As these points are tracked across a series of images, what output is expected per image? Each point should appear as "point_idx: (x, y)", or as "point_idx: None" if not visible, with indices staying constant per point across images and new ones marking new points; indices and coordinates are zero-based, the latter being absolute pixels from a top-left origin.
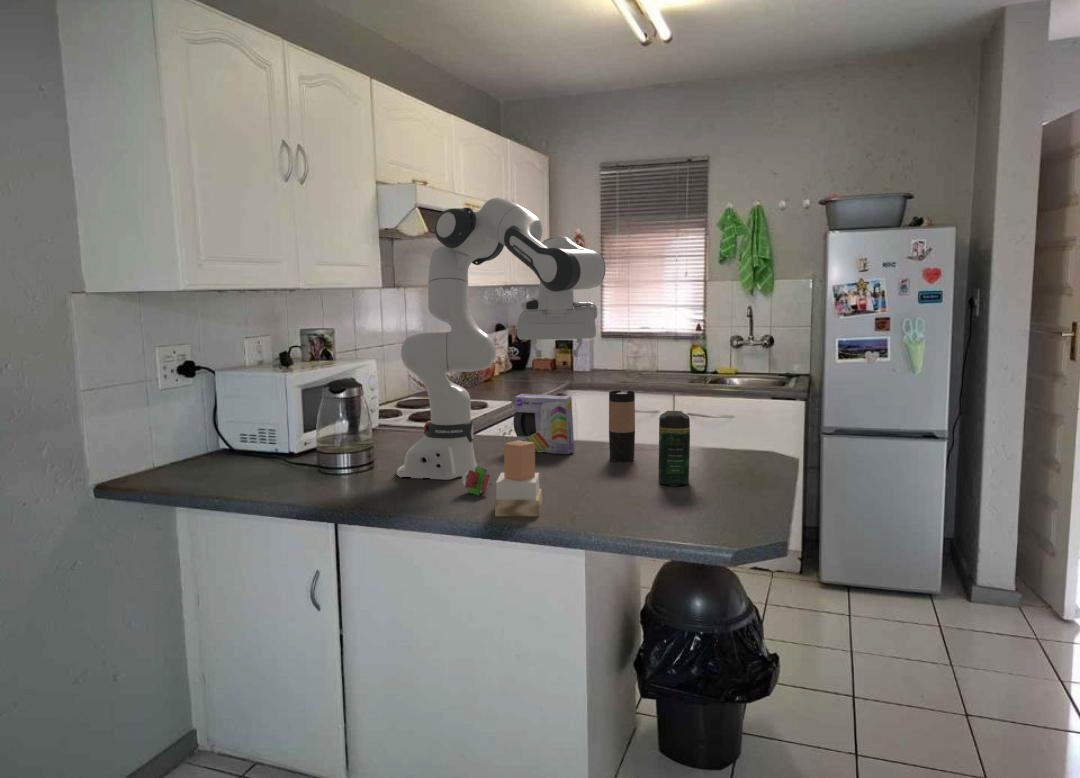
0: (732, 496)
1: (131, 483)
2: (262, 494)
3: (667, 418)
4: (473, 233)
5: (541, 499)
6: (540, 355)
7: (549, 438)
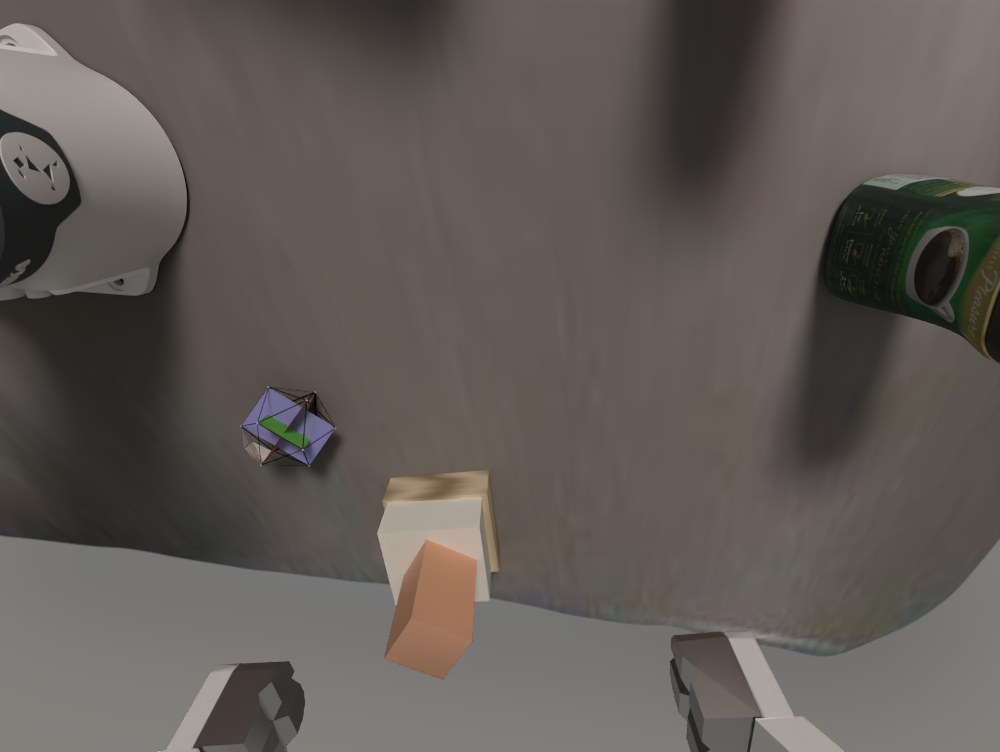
0: (988, 374)
1: None
2: None
3: None
4: None
5: (490, 494)
6: (292, 725)
7: None
